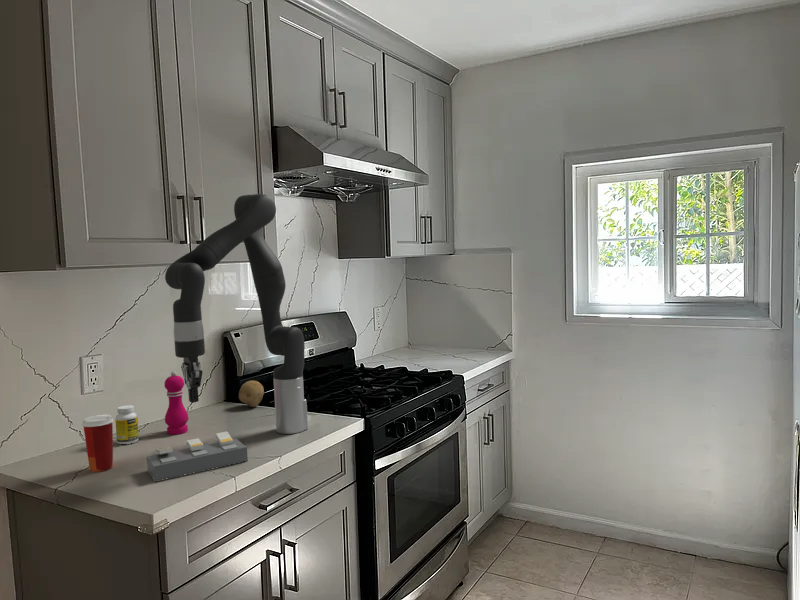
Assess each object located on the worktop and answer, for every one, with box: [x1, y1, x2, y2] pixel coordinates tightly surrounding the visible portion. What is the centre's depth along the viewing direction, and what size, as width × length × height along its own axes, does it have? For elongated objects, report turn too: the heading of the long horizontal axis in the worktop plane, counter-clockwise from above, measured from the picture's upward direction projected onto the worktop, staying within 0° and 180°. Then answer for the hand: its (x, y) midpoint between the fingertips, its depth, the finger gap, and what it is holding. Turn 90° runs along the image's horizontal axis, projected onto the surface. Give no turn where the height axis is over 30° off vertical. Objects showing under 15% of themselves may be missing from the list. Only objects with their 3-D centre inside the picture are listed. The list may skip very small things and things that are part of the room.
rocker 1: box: [155, 446, 174, 454], centre depth 162 cm, size 3×5×1 cm, turn 33°
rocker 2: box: [215, 431, 234, 446], centre depth 170 cm, size 3×5×1 cm, turn 33°
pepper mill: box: [164, 370, 189, 436], centre depth 197 cm, size 7×7×20 cm
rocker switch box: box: [146, 438, 249, 482], centre depth 165 cm, size 24×10×4 cm, turn 123°
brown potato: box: [238, 380, 265, 408], centre depth 226 cm, size 9×9×10 cm
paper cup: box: [81, 414, 114, 473], centre depth 165 cm, size 8×8×14 cm
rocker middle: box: [186, 437, 204, 451], centre depth 166 cm, size 3×5×1 cm, turn 33°
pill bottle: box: [114, 404, 140, 445], centre depth 188 cm, size 6×6×11 cm
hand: (193, 401), depth 164 cm, fingers closed
